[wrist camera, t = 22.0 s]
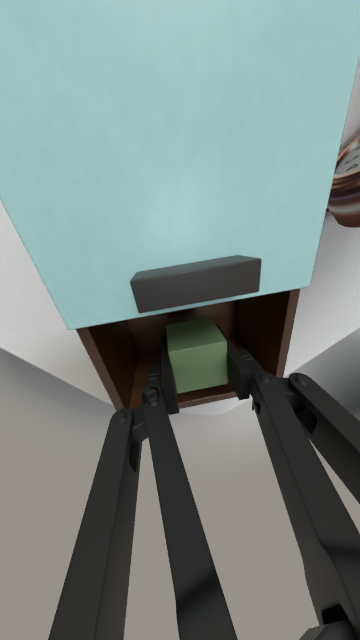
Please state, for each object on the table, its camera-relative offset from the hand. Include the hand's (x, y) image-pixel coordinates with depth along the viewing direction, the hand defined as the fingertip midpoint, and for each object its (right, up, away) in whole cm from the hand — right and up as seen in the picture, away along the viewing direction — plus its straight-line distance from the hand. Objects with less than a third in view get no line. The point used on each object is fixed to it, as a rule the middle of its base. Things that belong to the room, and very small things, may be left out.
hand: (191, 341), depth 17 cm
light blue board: (-1, +9, -9) cm, 13 cm away
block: (0, 0, 0) cm, 0 cm away
